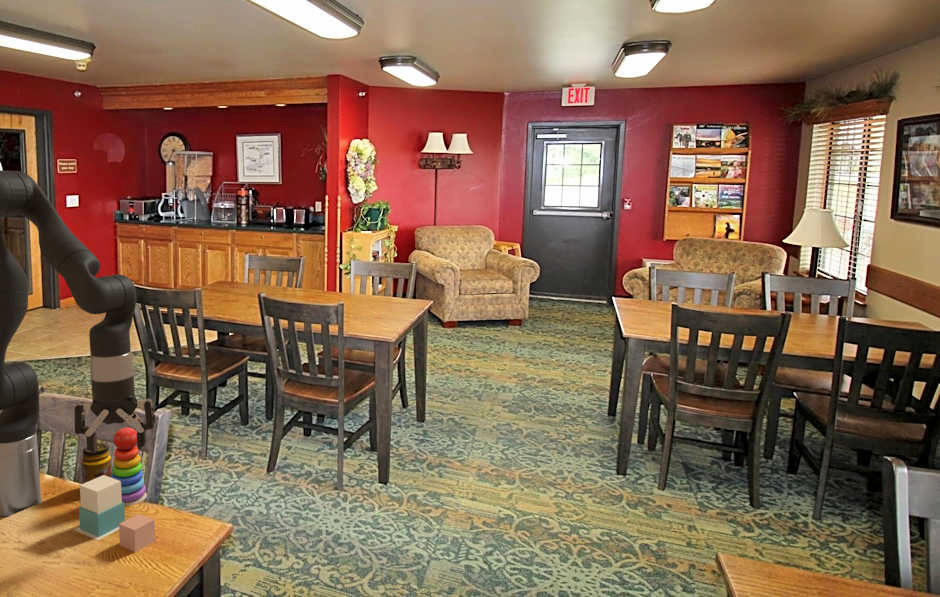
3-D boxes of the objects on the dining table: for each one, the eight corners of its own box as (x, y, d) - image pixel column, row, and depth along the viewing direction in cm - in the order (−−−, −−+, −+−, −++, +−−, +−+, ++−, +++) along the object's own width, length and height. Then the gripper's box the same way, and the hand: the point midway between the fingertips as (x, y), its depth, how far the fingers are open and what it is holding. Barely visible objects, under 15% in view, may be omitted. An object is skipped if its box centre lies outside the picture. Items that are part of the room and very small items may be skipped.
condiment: (115, 497, 150) (113, 450, 148) (73, 505, 145) (70, 457, 143) (112, 484, 156) (110, 438, 154) (72, 491, 151) (69, 445, 149)
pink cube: (119, 545, 130) (118, 523, 129) (139, 535, 134) (139, 513, 133) (135, 552, 128) (134, 530, 127) (155, 541, 132) (154, 519, 131)
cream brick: (80, 507, 134) (79, 485, 133) (104, 496, 138) (103, 474, 137) (98, 514, 131) (97, 491, 130) (121, 502, 136) (120, 481, 135)
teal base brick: (80, 528, 134) (78, 507, 133) (106, 516, 140) (105, 495, 139) (98, 537, 132) (97, 515, 131) (125, 523, 137) (124, 502, 136)
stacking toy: (100, 507, 145) (96, 431, 141) (127, 492, 153) (124, 419, 149) (128, 514, 143) (125, 437, 139) (154, 498, 151) (152, 424, 147)
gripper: (66, 382, 122) (72, 460, 125) (147, 378, 126) (152, 454, 129) (77, 370, 129) (83, 445, 132) (154, 367, 133) (158, 439, 136)
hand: (117, 449), depth 130 cm, fingers open, 8 cm apart
